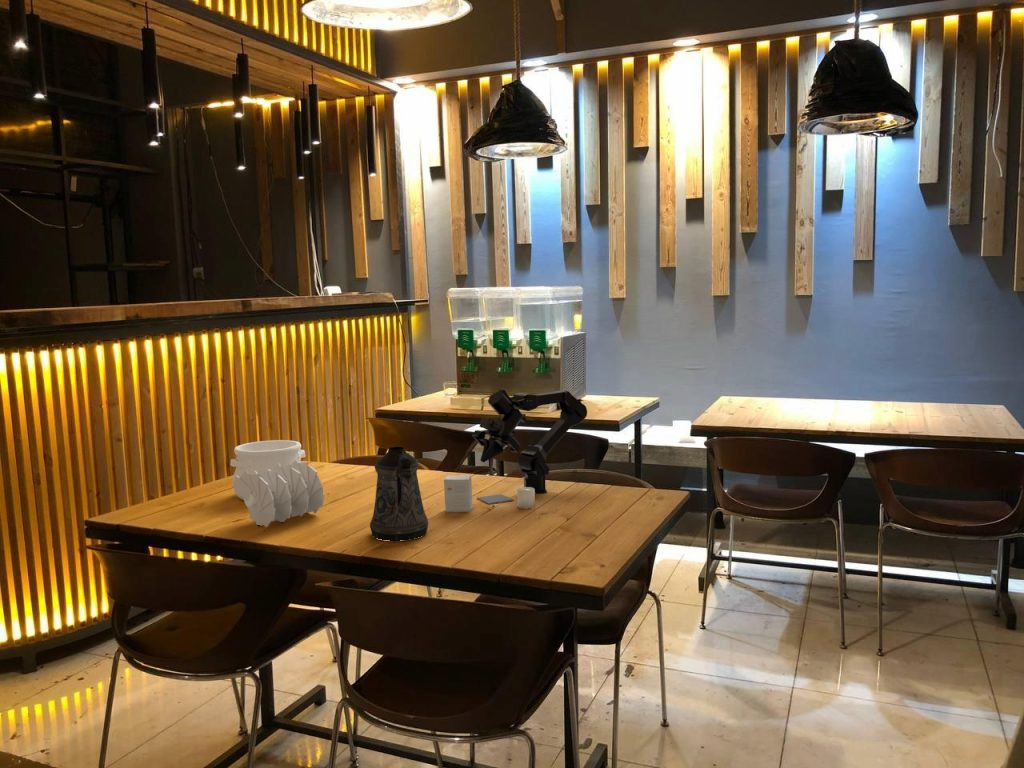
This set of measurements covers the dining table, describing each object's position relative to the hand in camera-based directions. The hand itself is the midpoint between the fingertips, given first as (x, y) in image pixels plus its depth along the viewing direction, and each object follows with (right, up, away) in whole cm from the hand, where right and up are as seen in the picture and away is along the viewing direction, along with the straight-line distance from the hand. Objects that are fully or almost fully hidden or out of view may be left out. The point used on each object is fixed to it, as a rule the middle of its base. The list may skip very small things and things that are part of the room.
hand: (481, 461), depth 266 cm
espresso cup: (+14, -14, -3) cm, 20 cm away
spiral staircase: (-60, -17, -12) cm, 64 cm away
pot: (-74, -14, +21) cm, 78 cm away
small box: (-7, -15, -5) cm, 17 cm away
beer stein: (-21, -18, -31) cm, 42 cm away
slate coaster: (+4, -13, +6) cm, 15 cm away
